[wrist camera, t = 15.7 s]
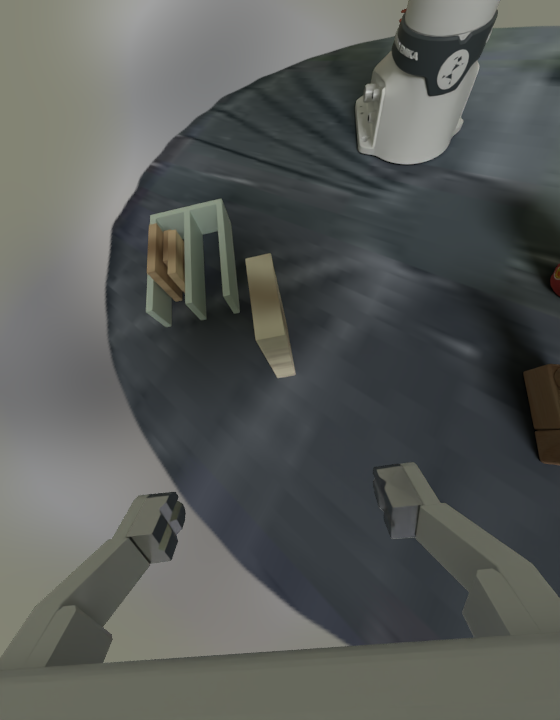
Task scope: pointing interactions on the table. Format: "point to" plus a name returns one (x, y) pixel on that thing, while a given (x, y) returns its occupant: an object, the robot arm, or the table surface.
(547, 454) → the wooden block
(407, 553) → the table surface
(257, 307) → the beige brown rectangular slab
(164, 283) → the offcut stack
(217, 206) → the rack
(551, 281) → the smoothie
